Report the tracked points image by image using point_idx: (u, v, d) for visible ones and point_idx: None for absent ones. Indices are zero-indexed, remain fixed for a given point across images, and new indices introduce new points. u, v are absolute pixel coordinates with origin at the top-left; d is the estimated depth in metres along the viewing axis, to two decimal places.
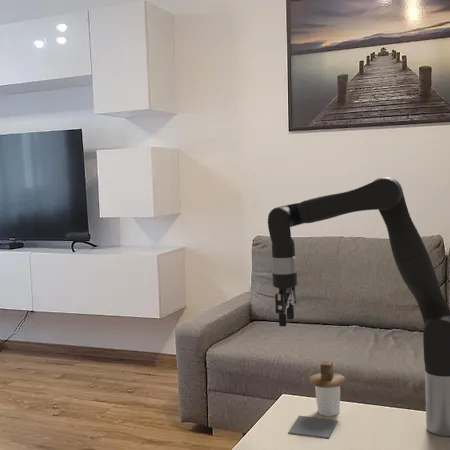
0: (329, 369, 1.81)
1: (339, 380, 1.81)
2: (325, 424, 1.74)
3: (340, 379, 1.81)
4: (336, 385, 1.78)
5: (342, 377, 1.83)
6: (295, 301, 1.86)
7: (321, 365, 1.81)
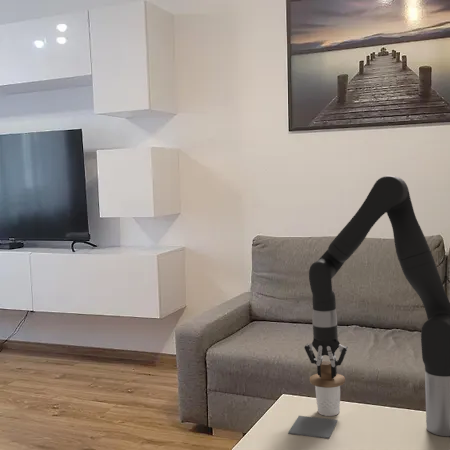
0: (329, 369, 1.81)
1: (339, 380, 1.81)
2: (325, 424, 1.74)
3: (340, 379, 1.81)
4: (336, 385, 1.78)
5: (342, 377, 1.83)
6: None
7: (321, 365, 1.81)
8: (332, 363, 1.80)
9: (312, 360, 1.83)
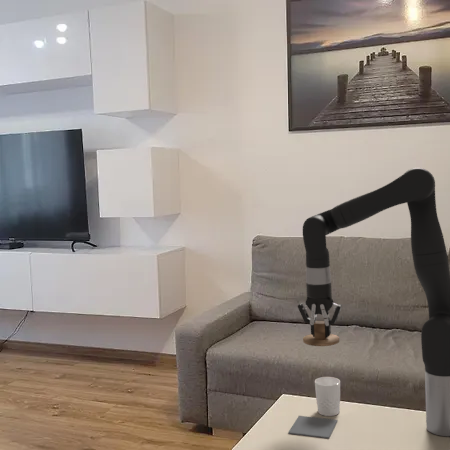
0: (323, 328, 1.77)
1: (333, 339, 1.77)
2: (325, 424, 1.74)
3: (334, 339, 1.77)
4: (330, 344, 1.74)
5: (336, 337, 1.79)
6: None
7: (315, 324, 1.77)
8: (326, 322, 1.76)
9: (305, 319, 1.79)
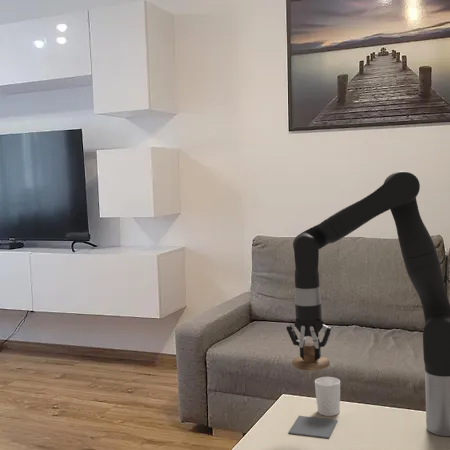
0: (312, 351, 1.69)
1: (323, 362, 1.70)
2: (325, 424, 1.74)
3: (324, 362, 1.70)
4: (320, 367, 1.67)
5: (326, 359, 1.72)
6: None
7: (304, 347, 1.70)
8: (315, 344, 1.69)
9: (294, 341, 1.72)
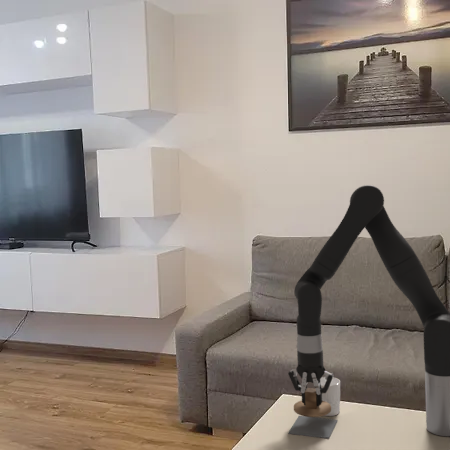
0: (314, 397, 1.71)
1: (325, 408, 1.71)
2: (325, 424, 1.74)
3: (326, 408, 1.72)
4: (321, 414, 1.68)
5: (328, 405, 1.73)
6: None
7: (306, 392, 1.72)
8: (317, 391, 1.71)
9: (296, 387, 1.73)
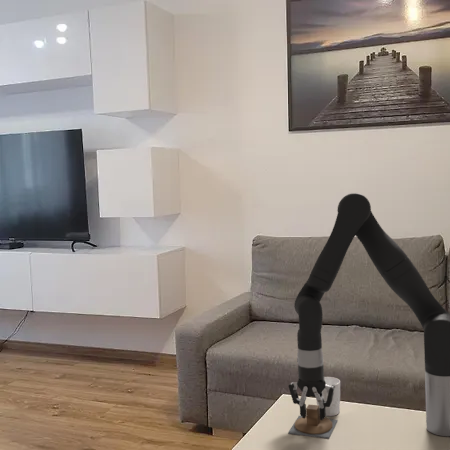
0: (315, 414, 1.71)
1: (326, 425, 1.71)
2: None
3: (327, 424, 1.72)
4: (322, 431, 1.68)
5: (329, 422, 1.74)
6: None
7: (307, 409, 1.72)
8: (320, 404, 1.71)
9: (294, 400, 1.74)
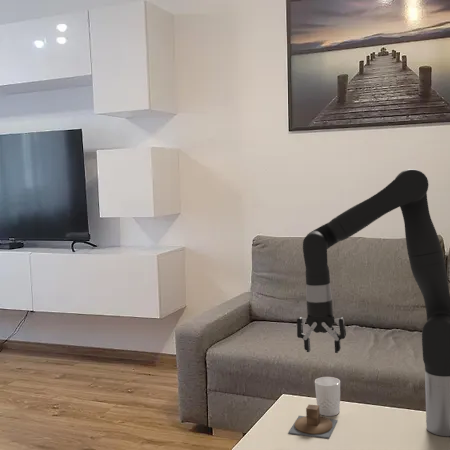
0: (315, 414, 1.71)
1: (326, 425, 1.71)
2: None
3: (327, 424, 1.72)
4: (322, 431, 1.68)
5: (329, 422, 1.74)
6: (301, 333, 1.78)
7: (307, 409, 1.72)
8: (335, 337, 1.72)
9: (298, 334, 1.75)
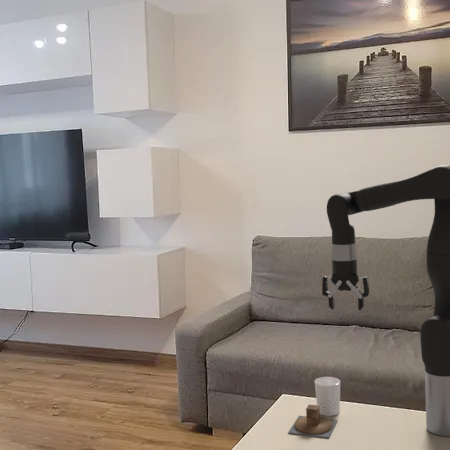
0: (315, 414, 1.71)
1: (326, 425, 1.71)
2: None
3: (327, 424, 1.72)
4: (322, 431, 1.68)
5: (329, 422, 1.74)
6: None
7: (307, 409, 1.72)
8: (358, 295, 1.79)
9: (323, 292, 1.83)
